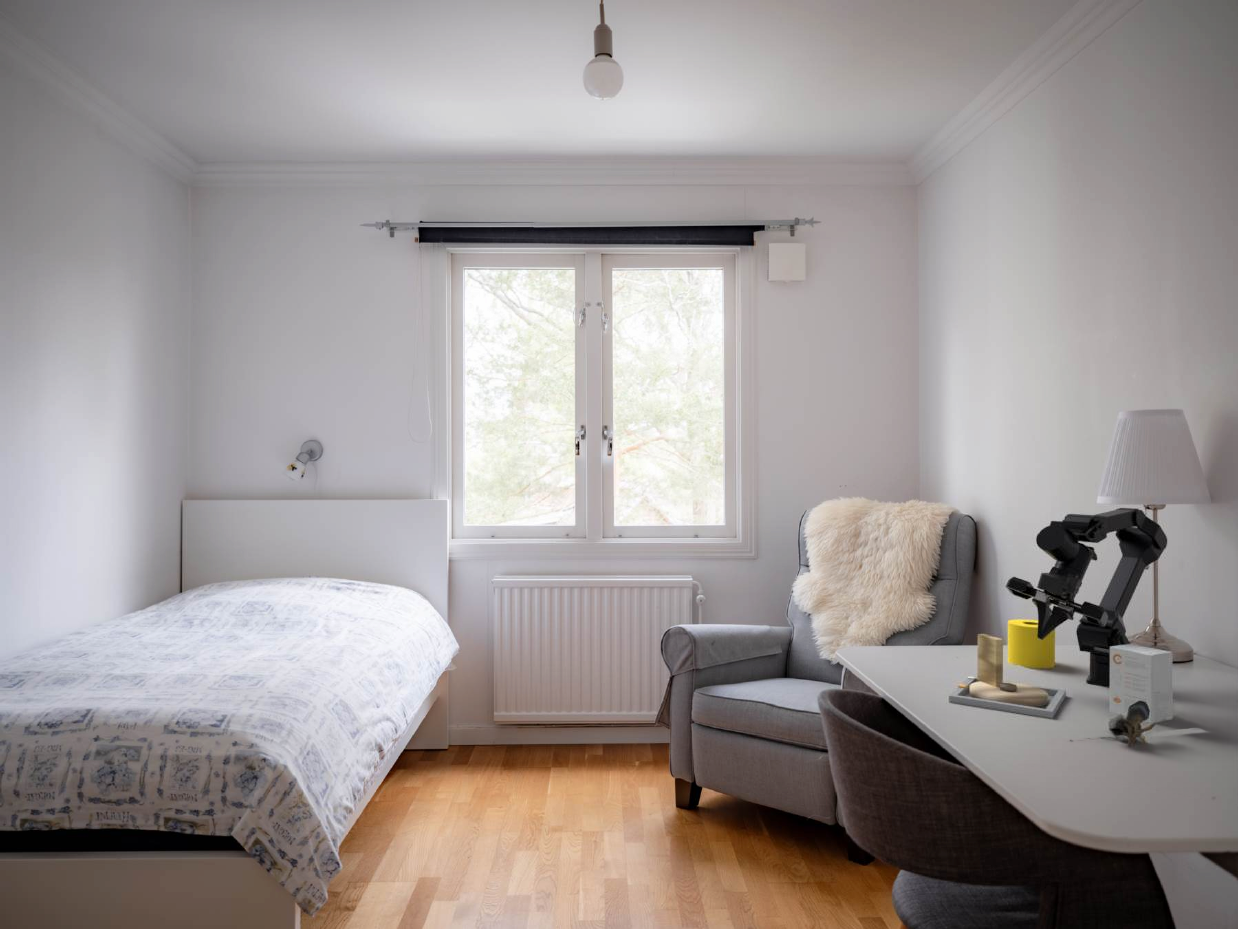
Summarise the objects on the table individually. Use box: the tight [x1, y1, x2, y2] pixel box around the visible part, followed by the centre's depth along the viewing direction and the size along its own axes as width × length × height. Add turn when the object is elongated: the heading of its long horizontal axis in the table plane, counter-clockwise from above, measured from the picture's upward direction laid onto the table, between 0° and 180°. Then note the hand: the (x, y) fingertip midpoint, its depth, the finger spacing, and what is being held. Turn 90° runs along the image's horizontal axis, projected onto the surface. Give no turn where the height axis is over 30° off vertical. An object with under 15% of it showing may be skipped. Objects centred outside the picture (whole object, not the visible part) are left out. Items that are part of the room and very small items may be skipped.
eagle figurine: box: [1108, 701, 1156, 748], centre depth 144 cm, size 8×7×9 cm
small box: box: [1109, 643, 1174, 724], centre depth 156 cm, size 8×6×13 cm
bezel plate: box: [948, 676, 1067, 720], centre depth 166 cm, size 18×18×2 cm
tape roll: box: [1007, 618, 1056, 669], centre depth 199 cm, size 10×10×9 cm
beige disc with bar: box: [970, 633, 1048, 708], centre depth 166 cm, size 15×14×11 cm
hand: (1039, 638), depth 173 cm, fingers closed
